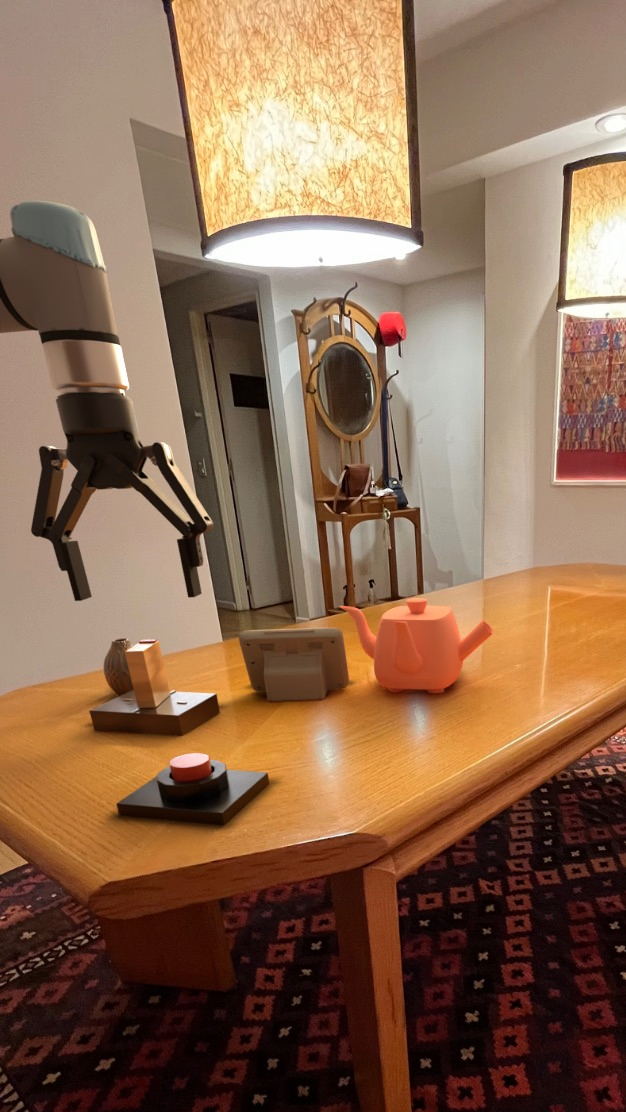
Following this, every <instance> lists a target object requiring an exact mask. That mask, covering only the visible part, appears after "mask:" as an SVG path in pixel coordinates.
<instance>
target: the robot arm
mask: <svg viewBox="0 0 626 1112" xmlns="http://www.w3.org/2000/svg"><path fill="white" fill-rule="evenodd" d="M9 216H10V223H11V228H10V231H11V232H12V235H13V236H9V237H4V238H0V334H6V333H7V334H9V333H18V332H19V333H20V332H31V331H38V335H39V339H40V342H41V344H42V348H43V353H44V358H45V362H46V366H47V371H48V376H49V380H50V383H51V387H52V388H53V389H54V390H55V391H59V394H60V395H57V396H56V399H55V403H56V407H57V411H58V415H59V419H60V423H61V427H62V432H63V434H64V436H65V438H66V448H59V447H58V446H52V445H51V446H50V445H41V446H40V447H38V454H39V455H38V456H39V461H40V466H41V469H40V470H41V471H40V476H39V480H38V481H39V482H38V487H37V493H36V500H35V504H34V511H33V516H32V520H31V521H32V522H31V528H30V532H31V534H32V535H33V536H34V537H36V538H39V537H40V538H42V539H46V540H48V541H49V542H50V543H51V544H52V546H53V551H54V554H55V557H56V561H57V566H58V568H59V569H60V571H61V572H67V575H68V580H69V584H70V587H71V592H72V596H73V599H74V601H75V602H81V601H84V600H87V599H90V598H92V596H93V595H92V591H91V587H90V584H89V581H88V580H89V579H88V576H87V573H86V568H85V565H84V561H83V557H82V553H81V548H80V545H79V541H78V540H72V539H73V537H72V534H73V531H74V530H75V528H76V526H77V524H78V522H79V520H80V519H81V517H82V514H83V512H84V511H85V509H86V506H87V505H88V503H89V501H90V499H91V497H92V496H93V494H94V493H96V491H98V490H99V491H100V490H113V489H117V490H124V489H125V490H127V489H134V490H135V491H136V492H138V493H139V494H141V495H142V496H143V497H144V498H145V499H146V500H147V501H148V502H149V503H150V504H151V505H152V506H153V507H154V509H155V510H157V511H158V512H159V513H160V514H161V515H162V517H164V518H165V519H166V521H168V522H169V523H170V524H171V525H172V526H173V527H174V528H175V529H176V530H177V532H178V533H180V535H182V536H181V537H180V538H177V539H176V542H177V547H178V552H179V558H180V563H181V569H182V574H183V577H184V578H183V579H184V585H185V588H186V594H187V598H196V597H198V596H200V595H202V587H201V582H200V576H199V571H198V568H199V567H202V566H203V565H204V558H203V557H204V556H203V551H202V544H201V540H200V539H201V535H203V534H204V533H206V532H209V531H211V530H213V529H214V522H213V520H212V518H211V517H210V515H209V514H208V513H207V511H206V509H205V508H204V506H203V505H202V503H201V501H200V500H199V498H198V497H197V495H196V494H195V492H194V490H193V489H192V487H191V486H190V484H189V482H188V481H187V480H186V478H185V477H184V475H183V473H182V472H181V470H180V469H179V467H178V466H177V464H176V460H175V457H174V453H173V450H172V447H171V445H170V444H169V443H167V442H153V444H151V445H145V446H144V444H142V441H141V439H140V431H139V426H138V422H137V417H136V412H135V407H134V402H133V399H131V398H130V397H129V396H128V395H126V394H125V392H127V391H128V390H129V389H130V384H129V380H128V373H127V371H126V365H125V361H124V359H125V358H124V355H123V349H122V345H121V342H120V337H119V334H118V329H117V324H116V319H115V313H114V307H113V302H112V298H111V292H110V287H109V281H108V275H107V273H108V269H107V268H108V267H106V265H105V262H104V257H103V254H102V250H101V246H100V242H99V238H98V234H97V230H96V228H95V224H94V223H93V221H92V220H91V219H90V218H89V217H88V216H87V214H86V213H84V212H83V211H80V210H78V209H77V208H75V207H73V206H71V205H67V204H63V203H59V202H54V201H47V200H27V201H21V202H19V204H14V205H13V206H12V207H11V209H10V212H9ZM148 459H149V460H150V462H151V463H152V465H154V466H155V467H157V468H158V470H159V472H160V474H161V475H162V477H163V478H164V480H165V481H166V483H167V485H168V486H169V487H170V489H171V491H172V492H173V493H174V495H175V497H176V498H177V500H178V501H179V503H180V504H181V506H182V508H183V509H184V511H185V512H186V513H187V515H188V516H187V515H186V514H185V513H184V512H183V511H182V510H181V509H180V508H179V507H178V506H177V505H176V504H175V503H174V502H173V501H172V500H171V498H169V497H168V496H167V495H166V493H164V492H163V491H162V490H161V488H159V486H157V485H156V483H155V481H154V480H153V479H152V478H151V477H150V476H149V475H148V474H147V473H146V472H145V471H144V467H145V464H146V463H147V460H148ZM68 462H69V463H70V465H72V466H73V468H74V469H75V470H76V471H77V472H76V474H75V476H74V478H73V479H72V482H71V483H70V487H71V489H70V490H69V492H68V494H67V496H66V498H65V499H64V502H63V504H62V506H61V508H60V510H59V512H58V507H59V501H60V496H61V490H62V484H63V480H64V471H65V469H66V468H67V465H68ZM57 512H58V514H57Z"/></svg>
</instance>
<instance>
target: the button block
mask: <svg viewBox="0 0 626 1112" xmlns="http://www.w3.org/2000/svg"><path fill="white" fill-rule="evenodd" d="M210 763H211V768H212V774H210V775H209V776H207V777H204V778H201V779H198V780H191V781H174V780H173V778H172V774H171V769H170V765H169V766H167V767H165V768H163V769H162V770H161V771H158V773H157V775H156V776H155V777H153V778H152V779H151V780H149V781H148V782H146V783H144V784H143V785H142V786H140V787H139V788H137V789H136V790H134V791H133V792H131V793H130V794H128V795H127V796H126V797H124V798H122V799H121V800H119V801H118V802H116V809H117V811H118V816H119V817H129V818H140V819H150V820H159V821H160V820H161V821H170V822H171V821H172V822H181V823H183V822H184V823H193V824H204V825H216V826H226V825H227V824H228V823H229V822H230V821H231V820H232V819H233V818H234V817H236V816H237V814H239V813H240V812H241V811H242V810H243V809H244V808H245V807H246V806H247V805H249V804H250V803H251V802H252V801H253V800H255V798H256V797H257V796H258V795H259V794H261V793H262V791H264V790H265V789H266V788H267V787H268V786H269V785H270V778H269V773H268V772H264V771H252V770H237V769H227V764H226V763H225V762H222V761H219V760H217V759H210Z"/></svg>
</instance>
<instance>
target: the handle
mask: <svg viewBox="0 0 626 1112" xmlns="http://www.w3.org/2000/svg"><path fill="white" fill-rule="evenodd" d="M125 655H126V659H127V664H128V668H129V672H130V676H131V680H132V684H133V689H134V693H135V697H136V701H137V705H138V708H156V707H157V706H158V705H159V704H160V703H161V702H162V701H164V700H165V699H166V698H167V697H168V696H169V695H170V687H169V682H168V678H167V673H166V668H165V664H164V658H163V655H162V650H161V646H160V641H159V640H158V639H155V638H154V639H141V640H138V643H136V644H134V645H133V647H131V648H130V649H128V650H127V651H125Z"/></svg>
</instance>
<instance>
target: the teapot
mask: <svg viewBox="0 0 626 1112" xmlns="http://www.w3.org/2000/svg"><path fill="white" fill-rule="evenodd" d="M405 602H406V605H399V606H395V607H393V608H391V609H388V610H387V611H385V612H384V613H383V614H382V616H381V618H380V621H379V625H378V629H377V632H376V635H375V634H373V633H372V631H371V629H370V627H369V625H368V622H367V619H366V617H365V615H364V613H363V612H362V611H361V609H359V608H357V607H354V606H348V605H339V608H341V610H344V611H345V612H346V613H348V615H350V617H351V618H352V620H353V622H354V625H355V628H356V632H357V635H358V640H359V643H360V646H361V648H362V650H363V651H364V653H365V654H366V655H367V656H368V657H369V658H370V659H372V660H373V672H374V676H375V679H376V680H377V682H378V684H379V685H380V687H382V688H386V689H388V691H389V692H391V693H400V692H404V691H405V690H427V692H428V693H429V694H441V693H444V692H445V689H446V688H448V687H450V686H451V685H452V684H454V683H455V681H457V679H458V678H459V675H461V671H462V669H463V666H464V661H465V660H466V659H467V658H468V657H469V656H470V655H471V654H473V652H474V651H476V650H477V649H478V648H479V647H480V646H481V645H482V644H483V643H485V642H486V641H487V640H488V639H489V638H490V637H491V636H492V635H493V634H494V633H495V631H494V629H493V627H491V626H490V624H489V623H487V622H486V621H485V620H481V621H480V622H479V623H478V624H477V625H476V626H475V627H474V628H473V629H472V630H471V631H470V632H469V633H468V634H467V635H466V636H465V637H464V639H462V638H461V634H460V630H459V627H458V623H457V620H456V616H455V614H454V611H453V609H452V608H451V607H450V606H447V605H427V604H428V599H427V598H424V597H412V598H408V599H406V601H405Z"/></svg>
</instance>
